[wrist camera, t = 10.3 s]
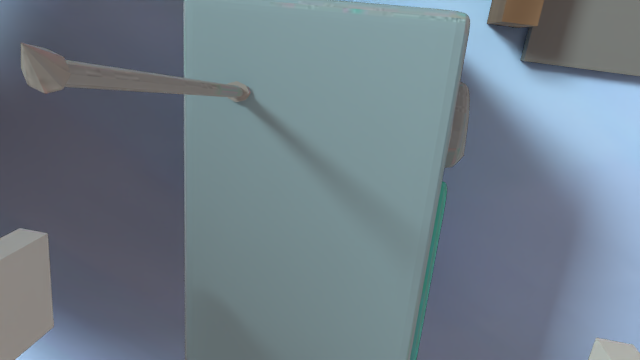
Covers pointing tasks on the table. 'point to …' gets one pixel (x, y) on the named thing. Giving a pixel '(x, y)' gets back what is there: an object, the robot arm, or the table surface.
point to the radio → (306, 170)
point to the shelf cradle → (515, 13)
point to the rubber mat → (587, 35)
